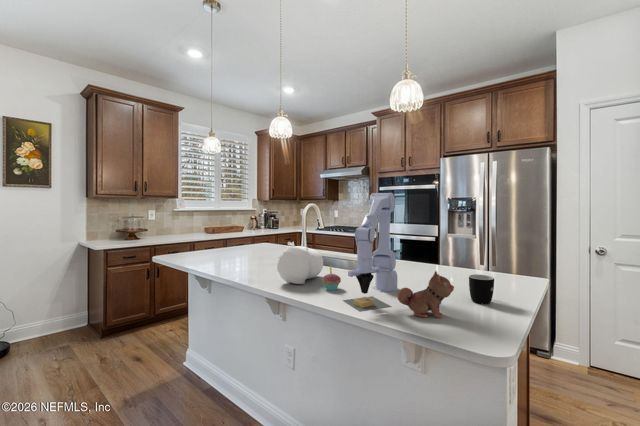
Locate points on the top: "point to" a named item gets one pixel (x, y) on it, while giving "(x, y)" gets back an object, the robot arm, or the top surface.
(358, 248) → the robot arm
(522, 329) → the top surface
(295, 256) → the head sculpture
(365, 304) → the card box
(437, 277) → the figurine
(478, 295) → the mug
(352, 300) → the mat
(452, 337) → the top surface
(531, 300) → the top surface
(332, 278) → the cupcake
